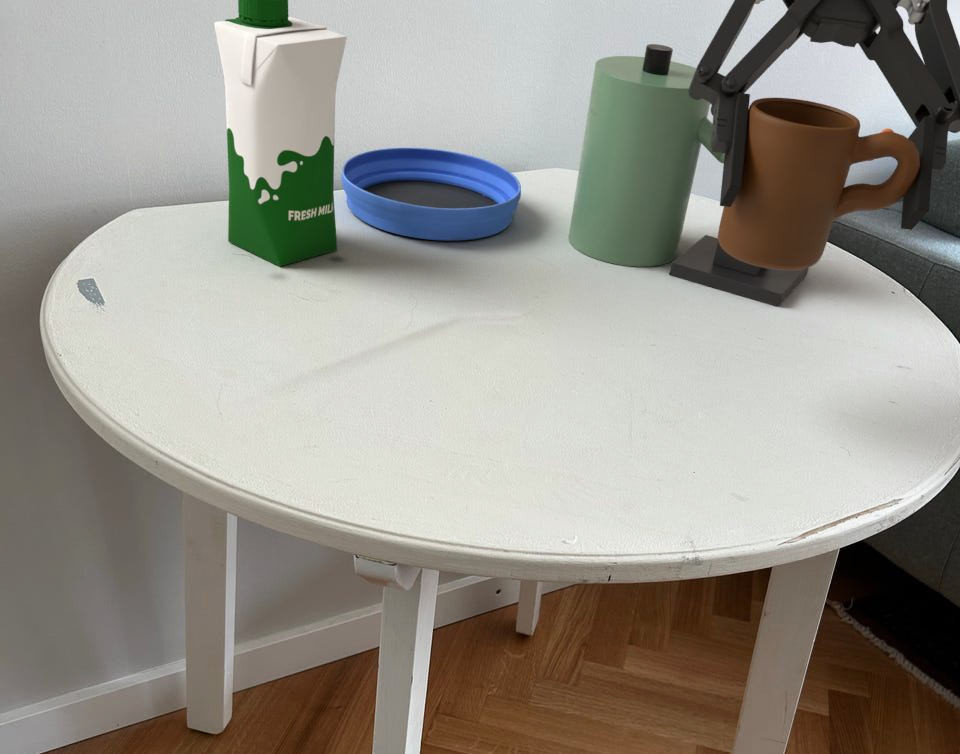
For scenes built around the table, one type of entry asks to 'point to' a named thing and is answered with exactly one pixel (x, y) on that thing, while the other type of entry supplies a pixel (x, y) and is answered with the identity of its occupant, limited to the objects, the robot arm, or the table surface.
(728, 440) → the table surface
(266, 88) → the milk carton
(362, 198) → the bowl
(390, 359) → the table surface
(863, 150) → the mug
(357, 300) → the table surface
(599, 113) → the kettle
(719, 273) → the dark grey stand
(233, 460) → the table surface
